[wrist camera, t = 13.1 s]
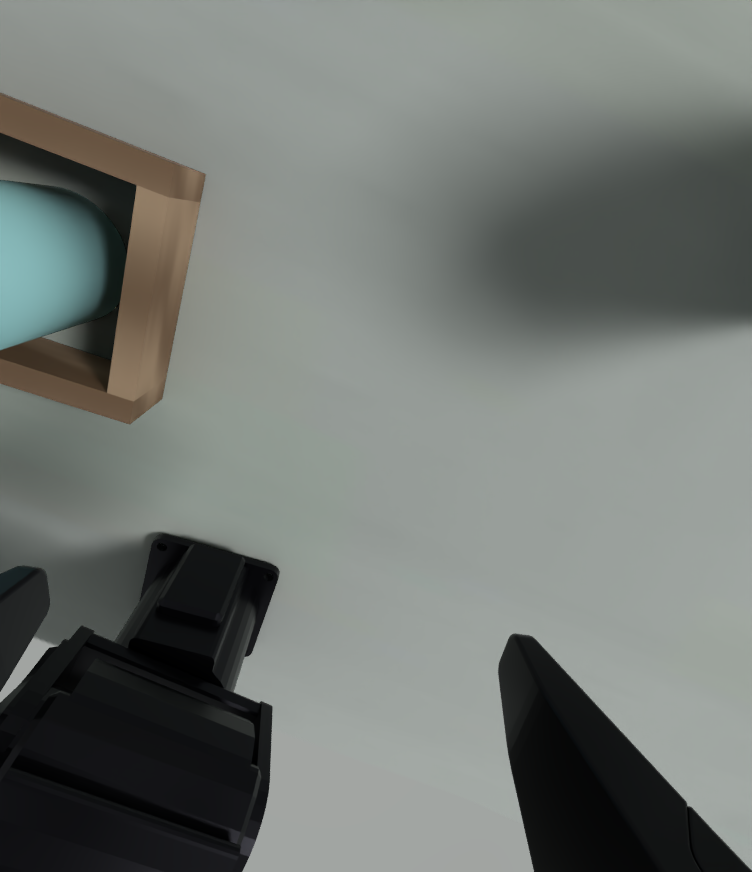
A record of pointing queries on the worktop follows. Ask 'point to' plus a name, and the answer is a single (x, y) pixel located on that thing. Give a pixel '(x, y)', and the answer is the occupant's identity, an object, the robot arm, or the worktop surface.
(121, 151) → the collar
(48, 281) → the peg
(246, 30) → the worktop surface
